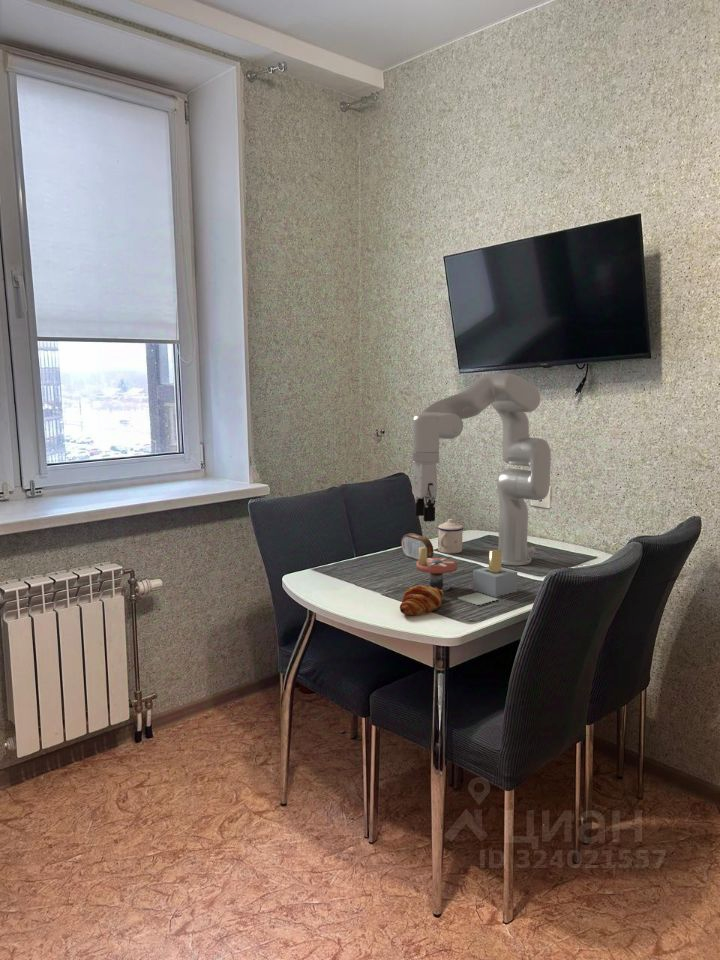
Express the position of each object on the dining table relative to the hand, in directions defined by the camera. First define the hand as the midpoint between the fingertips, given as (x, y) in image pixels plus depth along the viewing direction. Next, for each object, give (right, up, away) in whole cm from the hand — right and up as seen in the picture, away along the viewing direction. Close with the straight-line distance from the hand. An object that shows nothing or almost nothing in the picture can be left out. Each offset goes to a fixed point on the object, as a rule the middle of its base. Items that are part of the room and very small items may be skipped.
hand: (425, 517), depth 204 cm
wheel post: (+4, -21, +6) cm, 22 cm away
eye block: (+21, -22, +3) cm, 30 cm away
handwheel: (+4, -15, +5) cm, 16 cm away
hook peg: (+21, -22, +3) cm, 30 cm away
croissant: (-2, -24, -12) cm, 27 cm away
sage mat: (+14, -23, -5) cm, 27 cm away
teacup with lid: (+13, -15, +51) cm, 54 cm away
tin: (+1, -17, +40) cm, 44 cm away
